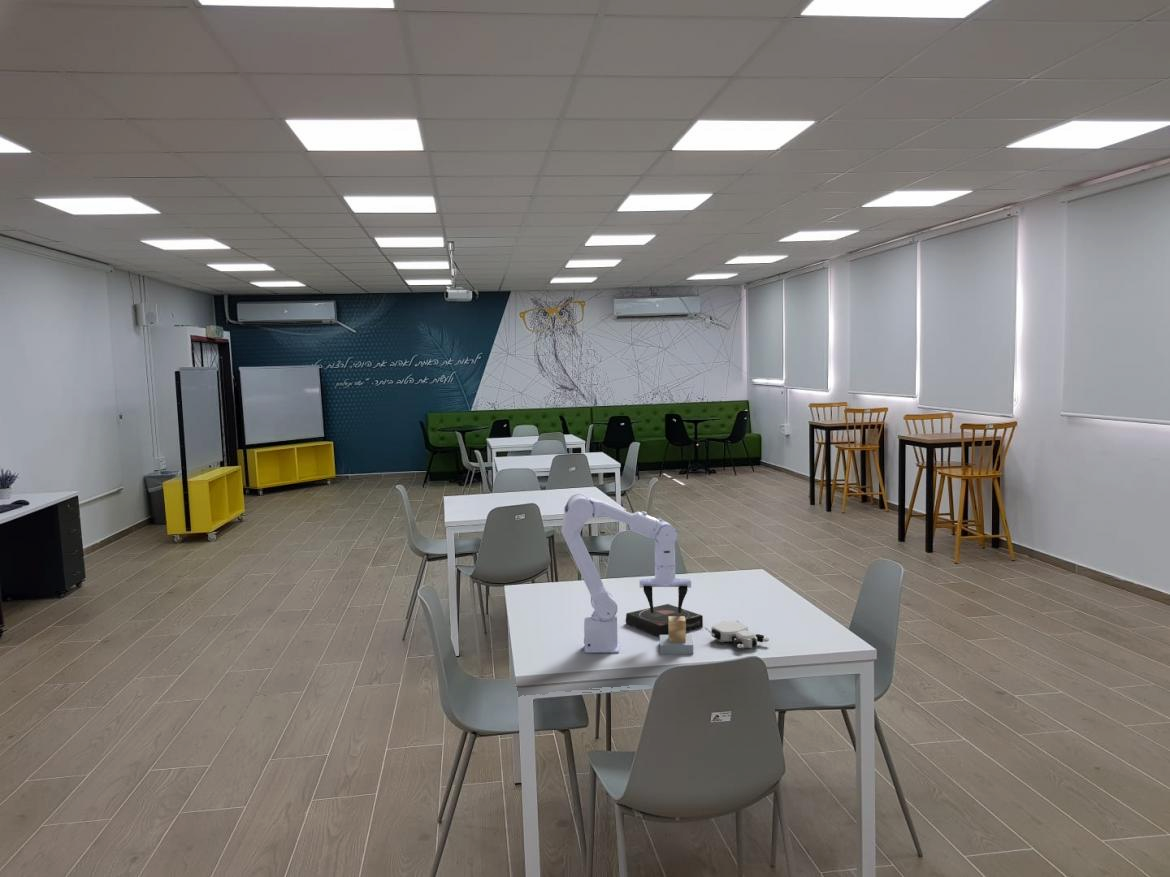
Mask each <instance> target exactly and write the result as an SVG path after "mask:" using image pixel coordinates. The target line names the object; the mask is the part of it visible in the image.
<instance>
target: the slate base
mask: <svg viewBox="0 0 1170 877" xmlns="http://www.w3.org/2000/svg"><path fill="white" fill-rule="evenodd" d="M659 652H660V655H679V654H680V655H692V654H693V655H694V641H693V635H692V634H686V642H669V635H660V638H659Z"/></svg>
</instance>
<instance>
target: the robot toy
mask: <svg viewBox="0 0 1170 877" xmlns="http://www.w3.org/2000/svg"><path fill="white" fill-rule="evenodd" d="M704 629H705V630H707V631H708V633H710V634H711V636H712V637H713V638H714V639H716V640H717V641H718V642H720V643H726V642H729V643H730V642H734V646H735V647H736V648H737V649H753V648H755V647H758V643H764V642H765V643H767V642H769V641H770V638H768V637H765V635H763V634H758V633H757V634H755V633H754V632H752V631H749V628H748V626H747V625H746V624H744V623H741V621H740V620H739V619H737V620H735V621H734V620H731V621H730V620H729V621H722V622H719V623H716V624H714V625H713V626H712V627H711V629H710V630H709V628H708V627H704Z"/></svg>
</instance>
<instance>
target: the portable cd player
mask: <svg viewBox="0 0 1170 877" xmlns="http://www.w3.org/2000/svg"><path fill="white" fill-rule="evenodd" d="M625 614H626V615H625V624H626V626H629V625H630V626H629V627H632V628H635V629H637V630H640V631H642V632H643V633H644V632H645V633H647V634H650V635H652V636H655V637H656V638H659V639H660V635H669V632H668V616H685V620H686V632H690V631H692V630H696V629H701V628H703V627H704V623H703V622H704V619H703V618H704V617H703V616H704V615H702V614H699V613H696V612H693V611H690V610H687V609H685V608H682V607H681V613H678V606H675V605H673V604H670V603H666V604H661V605H657V606H653V613H651V609H650V607H649V608H644V609H640V610H639V609H638V610H635V611H630V612H626V613H625Z"/></svg>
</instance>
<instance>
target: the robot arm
mask: <svg viewBox="0 0 1170 877" xmlns="http://www.w3.org/2000/svg"><path fill="white" fill-rule="evenodd" d="M602 516H603V517H607V518H609V519H612V520H615V521H618V522H621V523H623V524H626V525H628V528H629V530H630V531H631V532H634V533H637V534H639V535H640V536H641V535H642V536H644V537H646V538H649V539H654V578H643V579H642V578H640V579H639V589H640V588H641V589H642V588H643V593H644V595H645V597H646V599H647V602H648V606H649V608H650V609H651V613H653V607H654V600H653V588H677V591H678V594H677V595H678V602H677V607H678V613H681V608H682V606H683V602H684V600H685V597H686V596H687V593H688V590H689V589H688V588H692V579H691V578H690V579H689V578H678V577H677V578H676V548H675V543H676V540H677V538H678V533H677V530H676V529H675V527H674V526H673V525H672V524H670V523H669V522H668V521H665V520H663V518H660V517H658V518H656V517H653V516H652V515H651V516H650V515H649V514H648V513H647V512H646V511H644V510H642V511H636V512H633V513H631V512H629V511H626V510H624V509H622V508H621V507H620V508H619V507H617V506H615V505H612V504H610V503H609V502H607V501H604V500H601V499H597V498H595V497H590V496H587V497H586V496H585V495H584V494H580V493H576V494H573V495H572V496H570V497H569V499H568V501H567V502H566V504H565V505H564V508H563V517H562V524H561V525H562V526H561V535H562V536H563V538H564V541H565V543H566V545H567V547H568V549H569V551H570V554H571V556H572V558H573V560H574V562H575V564H576V567H577V568H578V571H579V573H580V575H581V577H582V580H583V581H584V584H585V586H586V587H587V588H586V589H587V590H588V592H589V595H590V604H591V607H592V609H594V610H593V612H592V614H591V615H590V616H589V617H584V622H583V625H584V626H583V631H584V634H583V635H584V637H583V644H584V653H589V654H591V653H592V654H593V653H596V654H597V653H600V654H601V653H604V654H605V653H611V654H612V653H617V654H618V653H619V652H620V645H621V644H620V641H619V640H618V637H619V636H618V614H617V613H618V605H617V603H616V601H615V600H614V599H613V595H612V594H611V593H610V592H609V591H608V590H606V588H605V585H604V582H603V581H602V579H601V576H600V575H599V573H598V572H599V571H598V570H597V568H596V565H595V564H594V562H593V560H592V557H591V555H590V553H589V551H588V549H587V547H586V544H585V542H584V539H583V538H582V535H581V532H582V530H583V527H584V525H585V524H586V523H587V522H588V521H589V519H590V518H591V517H592V518H594V519H595V518H599V517H602Z"/></svg>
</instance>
